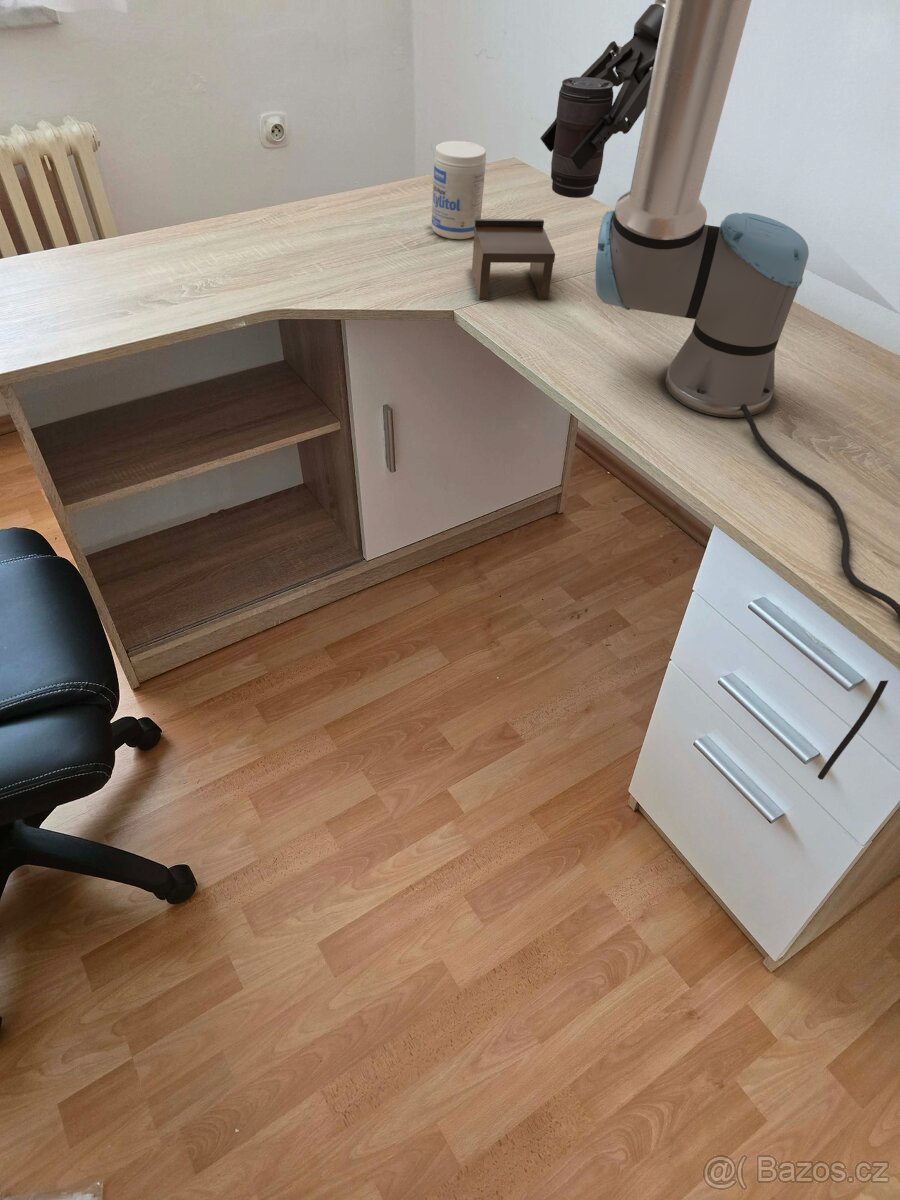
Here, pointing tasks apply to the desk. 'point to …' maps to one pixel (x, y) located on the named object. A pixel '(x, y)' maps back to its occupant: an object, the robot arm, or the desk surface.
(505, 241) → the block
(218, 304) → the desk surface
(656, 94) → the robot arm
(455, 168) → the supplement tub
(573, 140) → the camera lens
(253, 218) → the desk surface
